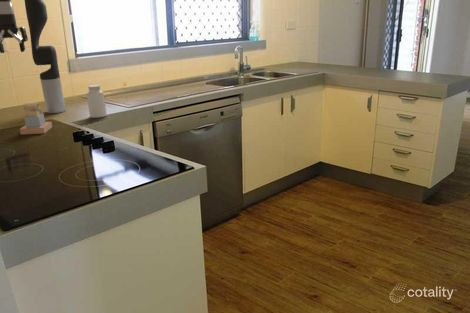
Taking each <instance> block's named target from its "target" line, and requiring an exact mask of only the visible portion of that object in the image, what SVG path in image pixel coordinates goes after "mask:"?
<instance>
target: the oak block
mask: <svg viewBox="0 0 470 313" xmlns="http://www.w3.org/2000/svg"><path fill="white" fill-rule="evenodd" d="M22 106H23V110H24V117H36V116H39V115H40V114H42V108H41V107H42V106H41V103H40V102H27V103H25V104H23V105H22Z"/></svg>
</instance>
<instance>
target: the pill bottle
mask: <svg viewBox="0 0 470 313" xmlns="http://www.w3.org/2000/svg"><path fill="white" fill-rule="evenodd" d="M87 87H88V92H87V93H86V100H87V106H88V107H87V108H88V112H89V117H90V118H93V119H97V118H103V117H106V116H107V107H106V100H105V94H104V93H105V92H104V91H102V90H101V85H99V84H94V85H93V84H91V85H88V86H87Z"/></svg>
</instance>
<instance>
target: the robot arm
mask: <svg viewBox="0 0 470 313" xmlns="http://www.w3.org/2000/svg"><path fill="white" fill-rule="evenodd" d="M24 7H25V13H26V19H27V24H28V29H29V36H30V46H31V54H32V59H33V63H34V65H36V66H49V65H50V67H49V69H47V70H45V71H43V72H41V73H40V74H39V79H40V84H41V89H42V94H43V100H44V103H45V104H44V105H45V110H46V113H47V114H59V113H63V112H66V111H67V109H66V105H65V98H64V93H63V87H62V82H61V76H60V70H59V65H58V56H57V50H56V48H55V46H53V45H40V37H41V34H42V32H43V30H44V28H45V27H46V24H47V22H48V12H47V11H48V10H47V6H46V3H45V1H44V0H24ZM18 32H19V33H21V35H19V33H18ZM9 38H10V39H15V40H16V41H18V45H19V49H20V52H21V53H24V52H25V51H26V46H25V42H27V41H29V38H28V34H27V30H26V28H25V26H20V27H18V26H17V20H16V16H15V10H14V6H13V4H12V0H0V53H1V54H4V53H5V48H4V44H3V41H4V40H5V39H9Z"/></svg>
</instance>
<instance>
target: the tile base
mask: <svg viewBox="0 0 470 313" xmlns="http://www.w3.org/2000/svg"><path fill="white" fill-rule="evenodd" d="M52 128H53V123H52V121H45V124H43V125H42V126H41V127H26V124H25V125H23V126H22V127H20V128H19V132H20V135H34V134H36V135H38V134H41V135H42V134H46V133H47V132H48V131H49V130H50V129H52Z"/></svg>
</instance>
